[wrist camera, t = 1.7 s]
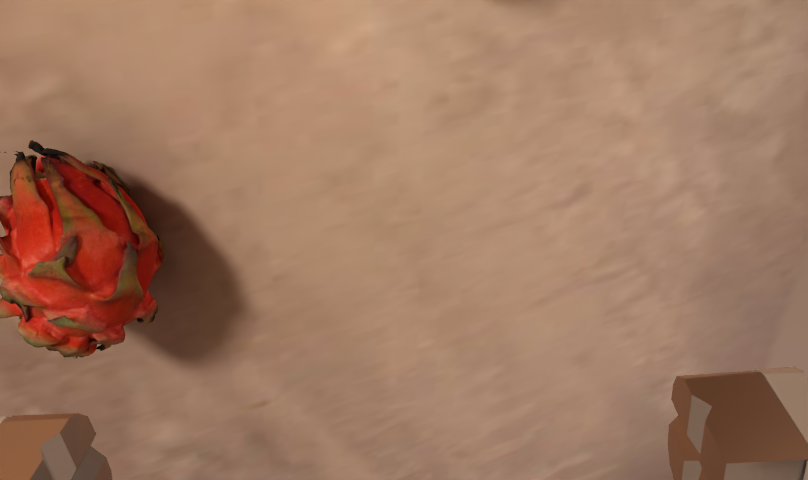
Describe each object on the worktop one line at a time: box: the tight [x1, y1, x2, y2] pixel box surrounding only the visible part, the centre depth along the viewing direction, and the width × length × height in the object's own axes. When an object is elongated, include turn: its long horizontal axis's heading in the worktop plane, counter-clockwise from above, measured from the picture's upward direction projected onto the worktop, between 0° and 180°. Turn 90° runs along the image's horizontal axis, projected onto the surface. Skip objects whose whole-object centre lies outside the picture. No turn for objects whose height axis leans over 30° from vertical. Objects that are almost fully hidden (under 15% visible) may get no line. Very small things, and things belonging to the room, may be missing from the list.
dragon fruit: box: [0, 140, 164, 358], centre depth 36 cm, size 8×8×12 cm
